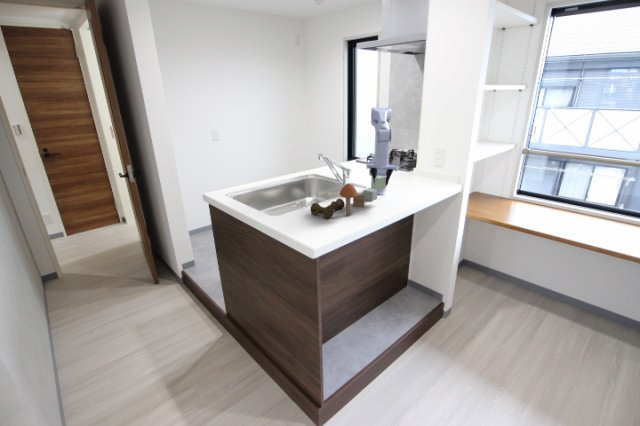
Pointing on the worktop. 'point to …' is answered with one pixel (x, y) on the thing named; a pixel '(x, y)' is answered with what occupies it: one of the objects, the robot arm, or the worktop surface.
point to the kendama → (327, 208)
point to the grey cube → (370, 194)
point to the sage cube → (380, 182)
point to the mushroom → (348, 196)
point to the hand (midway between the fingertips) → (380, 184)
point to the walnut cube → (359, 200)
